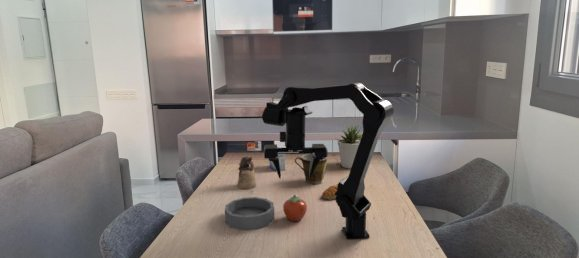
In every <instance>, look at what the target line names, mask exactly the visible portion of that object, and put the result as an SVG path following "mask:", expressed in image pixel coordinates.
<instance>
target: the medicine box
mask: <svg viewBox="0 0 579 258" xmlns="http://www.w3.org/2000/svg"><path fill="white" fill-rule="evenodd" d="M277 148H280V147H278V146H277ZM278 158H279V165H280V172H282V171H283V172H284V171H286V154H278ZM268 161H269V160H268ZM269 167H270V168H271V169H273V170H274V171H275V172H277V170H276V167H275V165H274V164H273V162H272V161H269Z"/></svg>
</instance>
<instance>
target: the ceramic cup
mask: <svg viewBox="0 0 579 258" xmlns="http://www.w3.org/2000/svg"><path fill="white" fill-rule="evenodd" d="M297 160H300V161H301V163H302V166H301V165H300V163H298V162H297ZM310 161H311V154H302V156H297V157H295V159H294V163H295V164H296V165H297V166H298V167H299V168H300V169H301V170H302V171H303V174H304V177H305V178H304V179H305V182H306V183H308V184H310V185H319V184H323V182H324V179H325V173H326V169H327V168H326V167H327V164H328V163H327V162H328V156H327V157H323V160H320V161H319V162H318V164H317V166H316V167H315V170H314V172H313V174H312V176H311V178H309V169H310Z"/></svg>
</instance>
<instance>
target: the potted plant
mask: <svg viewBox="0 0 579 258" xmlns="http://www.w3.org/2000/svg"><path fill="white" fill-rule="evenodd" d="M357 124H358V123H356V124H355V126H351V127H350V126H349V125H347V124H346V125H345V126H346V127H347V132H346V131H345V130H344V129H343V128H341V130H342V132H343V134H344V135H345V136H343V135H340V137H341V138H335V140H336V141H337V146H338V152H339V153H338V154H339V159H340V164H341V167H343V168H345V169H348V170H351V167H352V164H353V161H354V158H355V155H356V152H357V149H358V146H359V143H360V140H361V137H362V134H361V133H362V131H361V128H359V126H357ZM358 128H359V130H358ZM357 130H358V131H357Z"/></svg>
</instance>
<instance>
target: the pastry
mask: <svg viewBox="0 0 579 258" xmlns="http://www.w3.org/2000/svg"><path fill="white" fill-rule="evenodd" d="M337 187H338V183H337V184H334V185H331V186H329V187H328V188H327V189H325V190H323V192H322V193H321V194H322V198H323V199H326V200H328V201H331V200H335V199H336V195H334V194H335V193H336V191H337Z"/></svg>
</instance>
